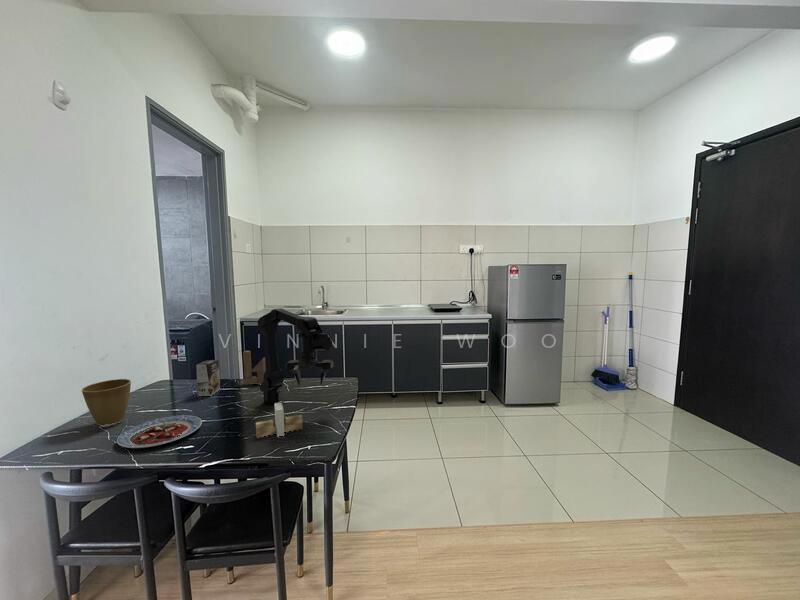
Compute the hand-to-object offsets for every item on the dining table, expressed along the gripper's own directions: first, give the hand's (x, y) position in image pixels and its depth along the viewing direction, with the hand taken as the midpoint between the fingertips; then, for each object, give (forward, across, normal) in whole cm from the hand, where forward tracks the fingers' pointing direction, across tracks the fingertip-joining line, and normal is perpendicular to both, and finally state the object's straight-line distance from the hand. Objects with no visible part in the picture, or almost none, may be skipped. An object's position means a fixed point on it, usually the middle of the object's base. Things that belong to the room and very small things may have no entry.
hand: (310, 384), depth 145 cm
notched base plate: (+12, -6, -18) cm, 23 cm away
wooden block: (+12, -42, +38) cm, 58 cm away
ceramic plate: (+12, -50, -20) cm, 55 cm away
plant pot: (+12, -78, -11) cm, 80 cm away
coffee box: (+12, -58, +23) cm, 64 cm away
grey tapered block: (+12, -6, -18) cm, 23 cm away
